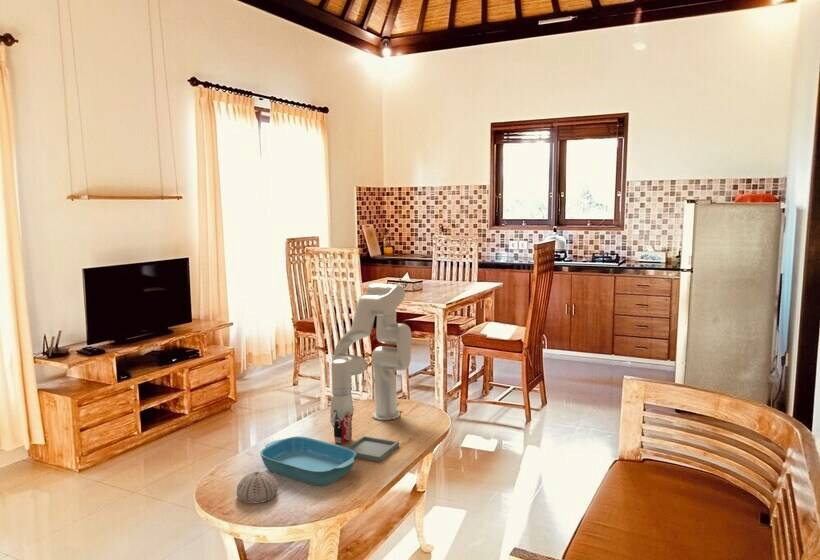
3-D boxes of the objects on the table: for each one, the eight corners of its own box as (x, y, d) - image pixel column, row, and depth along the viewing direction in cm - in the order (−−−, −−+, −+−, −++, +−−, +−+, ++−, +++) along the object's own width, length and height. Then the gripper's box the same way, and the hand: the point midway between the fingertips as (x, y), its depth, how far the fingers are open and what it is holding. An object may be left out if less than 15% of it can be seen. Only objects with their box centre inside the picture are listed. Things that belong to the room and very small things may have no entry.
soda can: (353, 438, 242) (352, 409, 241) (350, 444, 235) (349, 415, 234) (336, 437, 243) (335, 409, 241) (332, 444, 236) (331, 415, 234)
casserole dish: (369, 470, 212) (368, 451, 212) (329, 496, 194) (328, 475, 193) (291, 449, 232) (291, 432, 231) (248, 471, 213) (247, 452, 212)
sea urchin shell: (270, 507, 186) (269, 483, 185) (228, 505, 188) (227, 481, 187) (284, 488, 199) (283, 465, 198) (245, 486, 201) (244, 463, 200)
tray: (363, 440, 239) (363, 435, 239) (399, 446, 233) (398, 441, 232) (342, 455, 225) (342, 450, 225) (379, 462, 218) (379, 457, 218)
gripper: (345, 383, 246) (346, 425, 248) (321, 395, 230) (323, 439, 232) (361, 385, 243) (362, 427, 245) (338, 398, 227) (339, 442, 229)
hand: (343, 433), depth 238 cm, fingers closed on soda can, 6 cm apart
